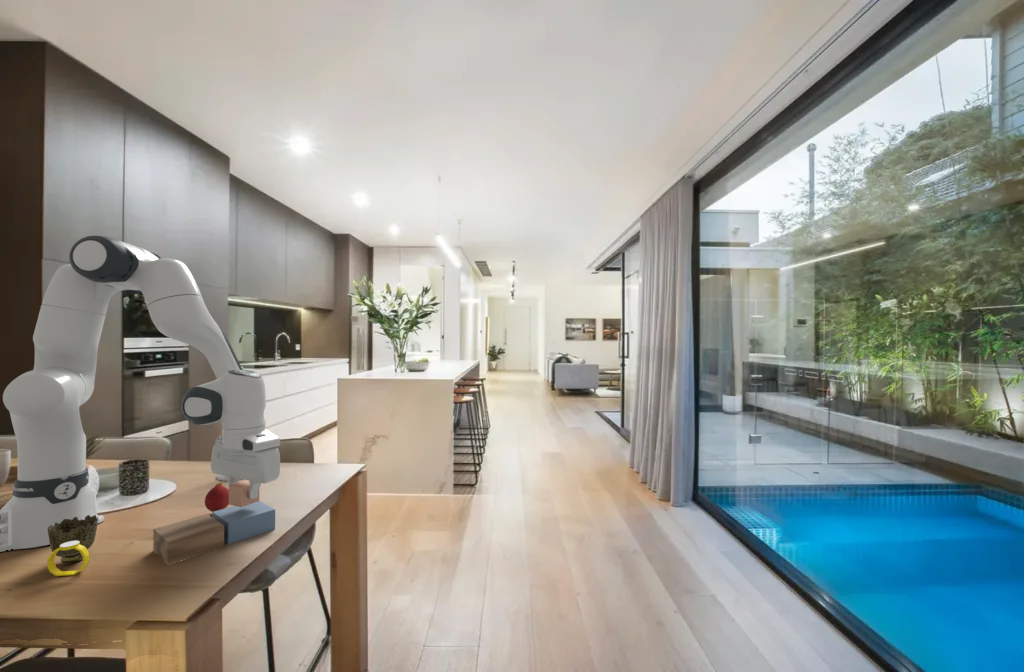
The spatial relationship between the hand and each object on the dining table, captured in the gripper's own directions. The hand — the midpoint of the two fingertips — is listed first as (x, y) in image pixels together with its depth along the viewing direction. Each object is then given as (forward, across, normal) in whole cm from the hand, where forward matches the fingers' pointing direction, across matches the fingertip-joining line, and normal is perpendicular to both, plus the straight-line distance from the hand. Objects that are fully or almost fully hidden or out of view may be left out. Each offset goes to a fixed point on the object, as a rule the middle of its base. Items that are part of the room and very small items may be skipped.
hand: (243, 496), depth 105 cm
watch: (+8, -12, -27) cm, 31 cm away
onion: (+8, -16, +4) cm, 18 cm away
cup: (+8, -18, -24) cm, 31 cm away
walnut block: (+8, -2, -11) cm, 14 cm away
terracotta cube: (+2, 0, 0) cm, 2 cm away
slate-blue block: (+8, 0, 0) cm, 9 cm away
